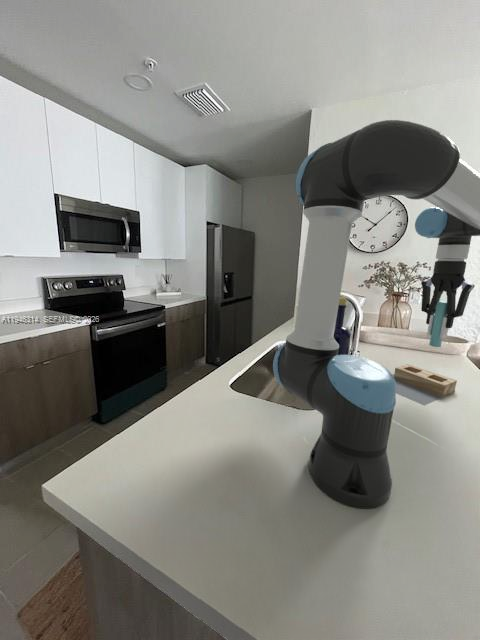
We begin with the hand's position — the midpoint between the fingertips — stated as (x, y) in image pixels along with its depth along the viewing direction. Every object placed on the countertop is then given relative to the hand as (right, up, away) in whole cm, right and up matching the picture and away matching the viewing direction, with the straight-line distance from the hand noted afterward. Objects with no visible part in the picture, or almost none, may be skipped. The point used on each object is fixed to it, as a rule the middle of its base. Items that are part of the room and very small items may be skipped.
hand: (436, 336), depth 86 cm
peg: (0, -3, +1) cm, 3 cm away
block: (+2, -18, +10) cm, 20 cm away
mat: (-3, -18, +8) cm, 20 cm away
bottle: (-29, -17, +11) cm, 35 cm away
